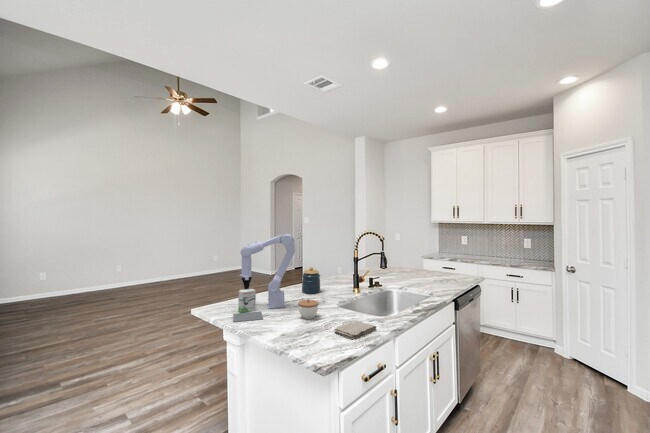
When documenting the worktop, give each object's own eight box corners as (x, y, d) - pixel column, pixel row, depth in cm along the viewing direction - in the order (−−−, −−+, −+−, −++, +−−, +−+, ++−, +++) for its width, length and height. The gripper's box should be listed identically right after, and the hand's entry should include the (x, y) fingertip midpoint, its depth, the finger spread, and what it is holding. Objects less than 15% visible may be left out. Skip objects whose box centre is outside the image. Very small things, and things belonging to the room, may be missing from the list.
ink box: (241, 313, 173) (241, 292, 172) (238, 311, 177) (238, 290, 177) (255, 310, 178) (255, 289, 178) (252, 308, 182) (252, 288, 182)
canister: (320, 294, 213) (320, 268, 213) (301, 294, 213) (301, 268, 213) (320, 289, 226) (320, 265, 226) (302, 289, 226) (302, 265, 226)
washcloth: (332, 334, 144) (332, 327, 144) (356, 324, 157) (356, 318, 157) (352, 341, 136) (352, 334, 136) (376, 330, 149) (376, 324, 149)
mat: (261, 312, 174) (261, 311, 174) (263, 319, 162) (263, 318, 162) (233, 314, 170) (233, 313, 170) (233, 322, 158) (233, 321, 158)
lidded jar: (309, 312, 174) (309, 295, 174) (322, 317, 167) (322, 299, 167) (294, 316, 167) (294, 299, 167) (307, 321, 159) (307, 303, 159)
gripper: (239, 265, 191) (239, 287, 191) (239, 269, 177) (239, 293, 177) (251, 264, 193) (251, 286, 193) (252, 268, 179) (252, 292, 179)
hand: (246, 289), depth 185 cm, fingers closed
